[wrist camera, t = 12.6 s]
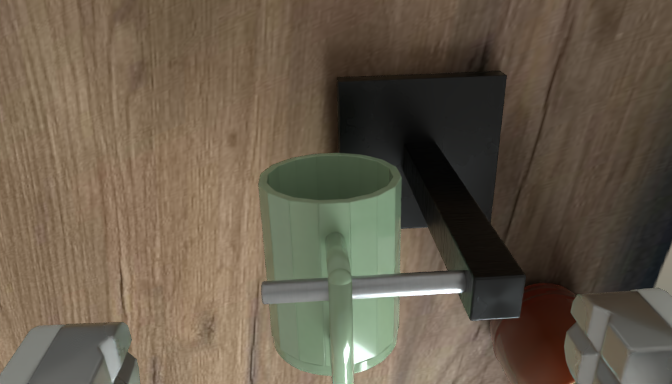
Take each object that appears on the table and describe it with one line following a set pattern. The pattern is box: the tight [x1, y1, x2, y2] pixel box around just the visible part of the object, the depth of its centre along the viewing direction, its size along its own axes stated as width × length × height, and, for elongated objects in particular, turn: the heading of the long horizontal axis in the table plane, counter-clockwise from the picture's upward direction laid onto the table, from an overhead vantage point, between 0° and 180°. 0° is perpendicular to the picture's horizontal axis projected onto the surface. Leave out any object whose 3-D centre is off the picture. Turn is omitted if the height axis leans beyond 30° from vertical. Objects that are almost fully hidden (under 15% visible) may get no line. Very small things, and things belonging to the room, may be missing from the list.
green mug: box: [258, 153, 402, 384], centre depth 25 cm, size 10×7×9 cm
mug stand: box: [261, 71, 526, 321], centre depth 28 cm, size 10×14×16 cm
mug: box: [490, 283, 577, 384], centre depth 37 cm, size 12×9×10 cm
